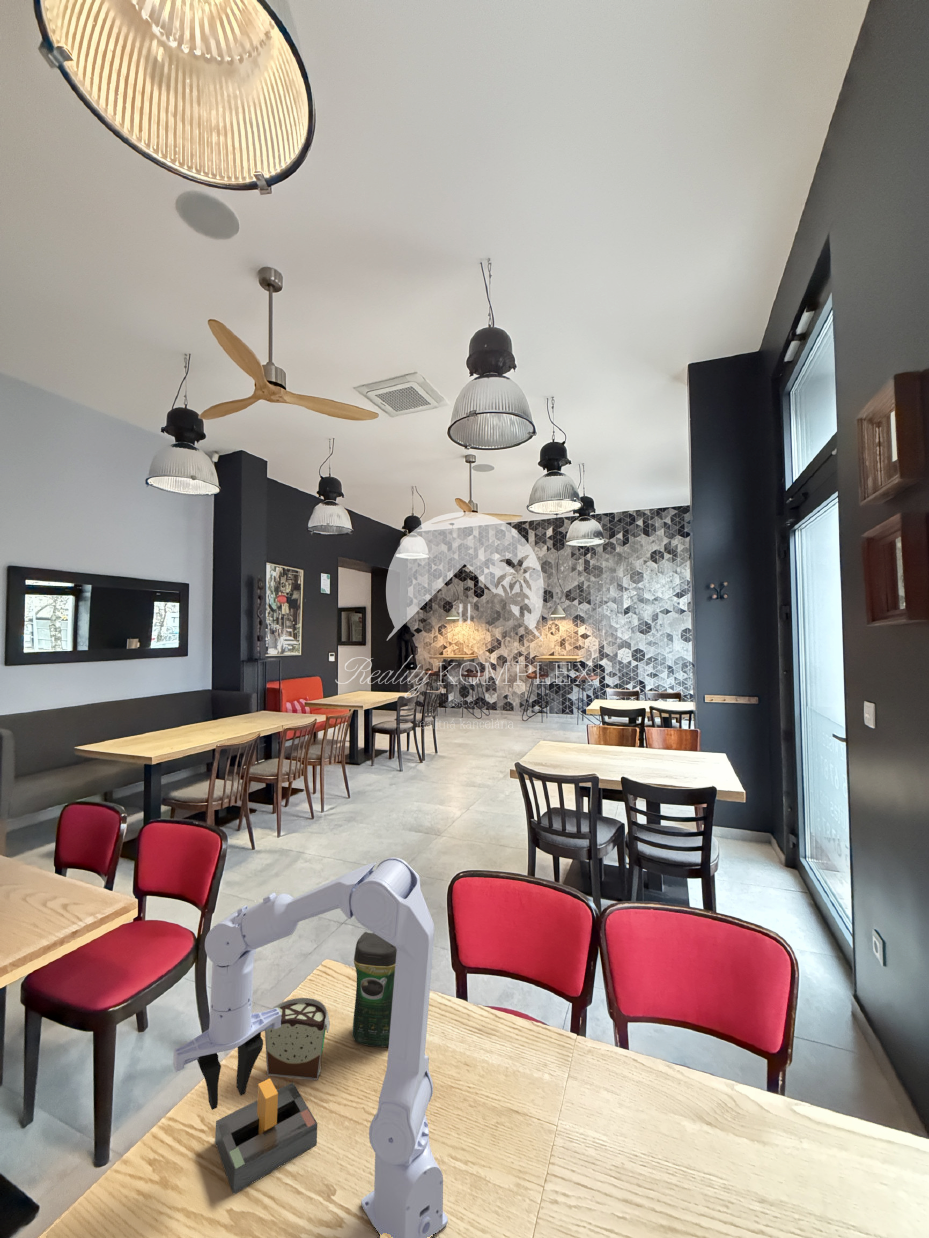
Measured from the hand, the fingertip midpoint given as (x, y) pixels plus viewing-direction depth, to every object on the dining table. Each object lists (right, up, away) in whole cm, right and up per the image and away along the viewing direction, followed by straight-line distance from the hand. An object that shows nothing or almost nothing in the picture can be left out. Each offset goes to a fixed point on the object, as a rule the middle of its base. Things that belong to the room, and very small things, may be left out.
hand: (227, 1097), depth 76 cm
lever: (+5, -10, +3) cm, 11 cm away
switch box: (+5, -10, +3) cm, 11 cm away
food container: (+5, -11, +18) cm, 22 cm away
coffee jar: (+18, -12, +26) cm, 34 cm away
